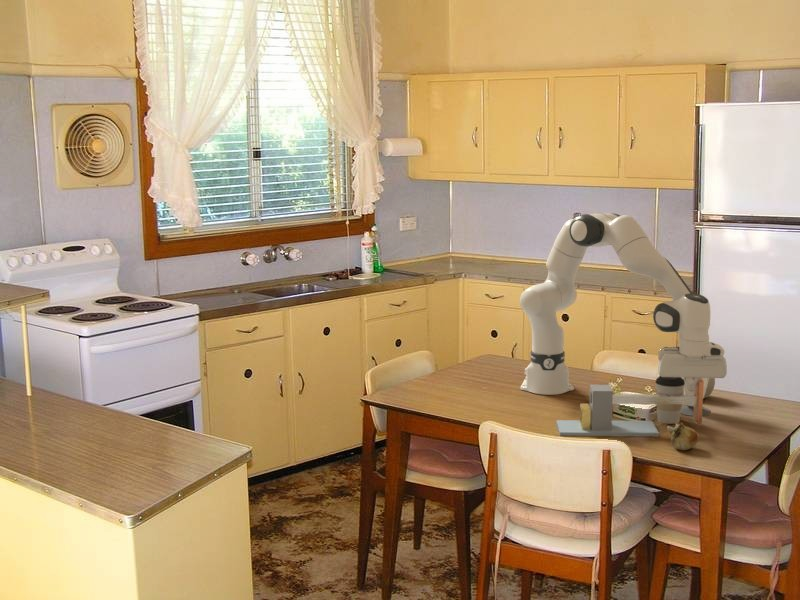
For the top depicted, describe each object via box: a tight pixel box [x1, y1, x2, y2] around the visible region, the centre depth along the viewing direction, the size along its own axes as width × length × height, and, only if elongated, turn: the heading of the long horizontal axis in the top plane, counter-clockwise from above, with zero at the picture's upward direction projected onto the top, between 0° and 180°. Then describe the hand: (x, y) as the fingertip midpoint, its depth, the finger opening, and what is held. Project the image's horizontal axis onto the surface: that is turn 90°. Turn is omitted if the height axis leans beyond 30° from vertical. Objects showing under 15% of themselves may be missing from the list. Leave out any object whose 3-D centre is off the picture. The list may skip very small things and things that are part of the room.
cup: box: [680, 377, 712, 417], centre depth 321 cm, size 12×12×22 cm
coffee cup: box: [655, 375, 685, 425], centre depth 312 cm, size 9×9×15 cm
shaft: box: [612, 378, 704, 425], centre depth 303 cm, size 6×29×14 cm, turn 86°
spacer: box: [579, 403, 591, 430], centre depth 305 cm, size 6×2×6 cm, turn 176°
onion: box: [666, 421, 699, 451], centre depth 287 cm, size 8×8×8 cm
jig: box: [555, 384, 660, 437], centre depth 304 cm, size 12×30×14 cm, turn 86°
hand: (690, 390), depth 301 cm, fingers closed
